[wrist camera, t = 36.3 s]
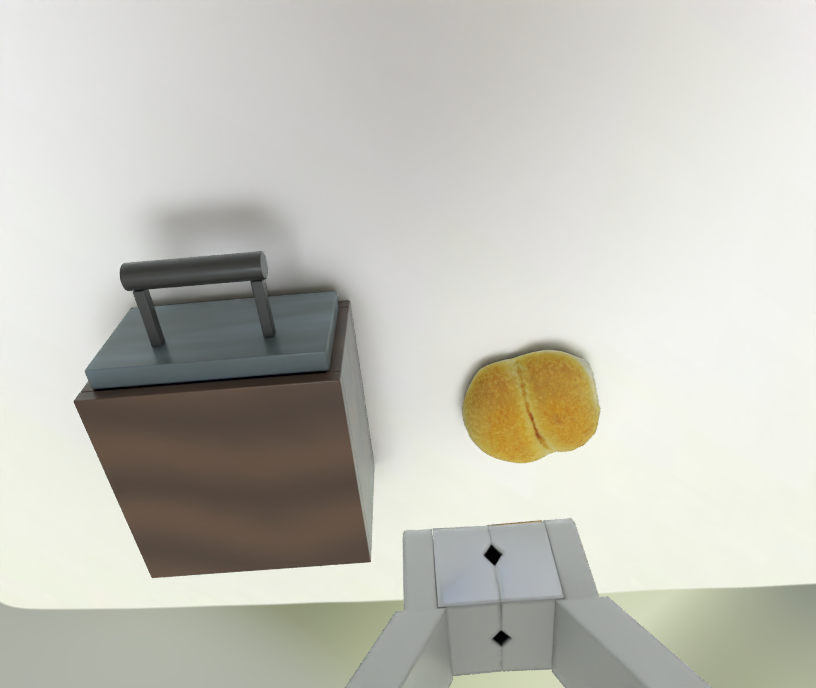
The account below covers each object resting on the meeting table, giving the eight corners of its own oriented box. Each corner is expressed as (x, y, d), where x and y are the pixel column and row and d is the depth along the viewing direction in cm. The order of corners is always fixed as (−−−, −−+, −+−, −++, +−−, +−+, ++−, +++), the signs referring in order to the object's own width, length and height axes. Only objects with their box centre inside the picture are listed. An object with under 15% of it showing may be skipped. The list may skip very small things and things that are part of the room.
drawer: (104, 233, 36) (48, 287, 30) (324, 214, 35) (310, 265, 30) (185, 464, 45) (154, 540, 39) (361, 450, 44) (357, 525, 38)
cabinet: (132, 318, 40) (72, 401, 32) (350, 300, 39) (340, 380, 32) (189, 480, 47) (151, 578, 39) (374, 466, 46) (370, 562, 39)
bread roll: (446, 369, 42) (450, 406, 39) (580, 329, 41) (597, 363, 37) (480, 459, 46) (487, 499, 43) (603, 425, 45) (620, 464, 41)
